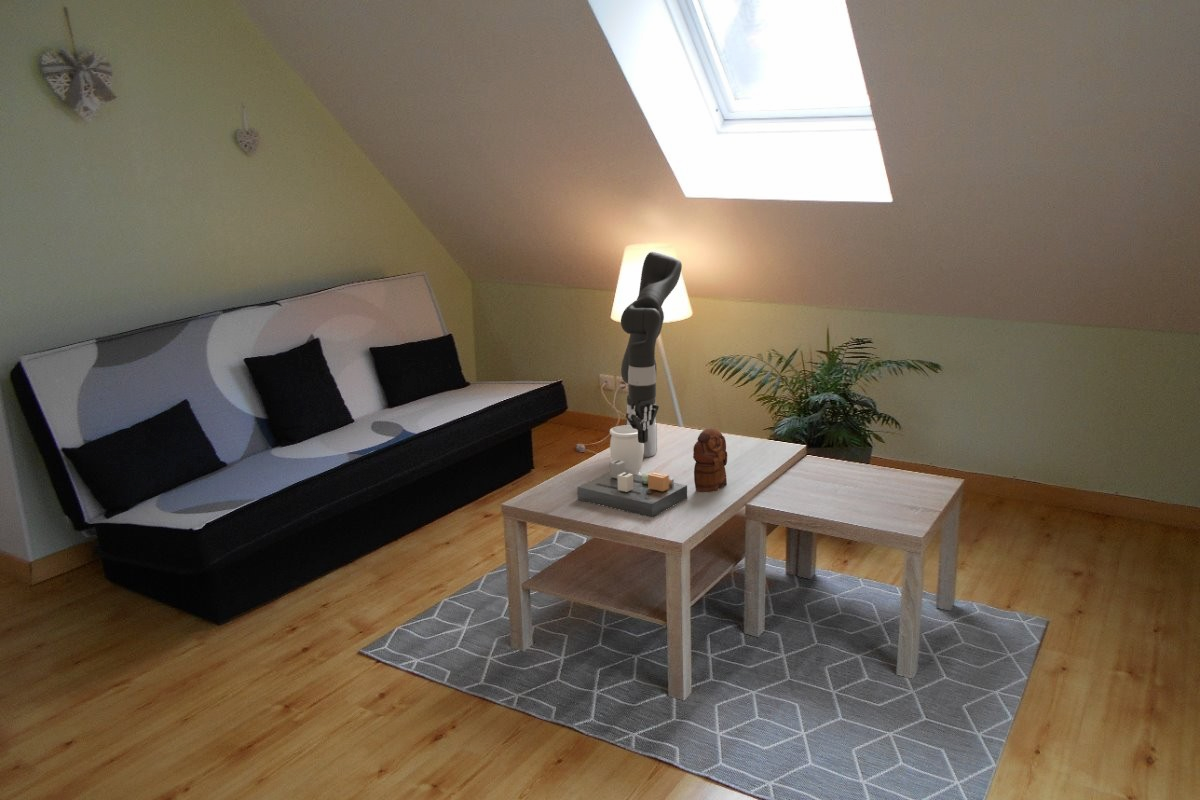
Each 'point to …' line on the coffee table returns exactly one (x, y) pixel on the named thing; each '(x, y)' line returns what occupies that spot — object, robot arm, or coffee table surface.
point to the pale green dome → (645, 478)
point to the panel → (631, 495)
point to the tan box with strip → (658, 481)
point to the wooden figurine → (710, 461)
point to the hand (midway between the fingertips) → (643, 442)
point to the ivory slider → (625, 482)
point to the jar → (627, 448)
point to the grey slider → (616, 468)
